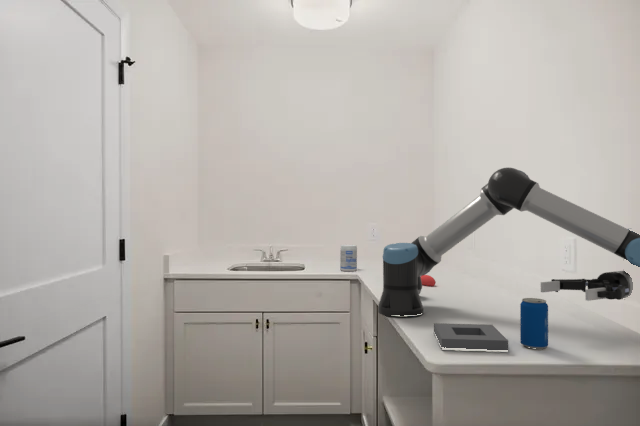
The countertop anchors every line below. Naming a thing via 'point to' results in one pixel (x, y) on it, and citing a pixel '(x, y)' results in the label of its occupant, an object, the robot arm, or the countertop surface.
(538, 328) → the beverage can
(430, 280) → the stress ball
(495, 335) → the socket plate
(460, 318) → the countertop surface
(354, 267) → the supplement tub
